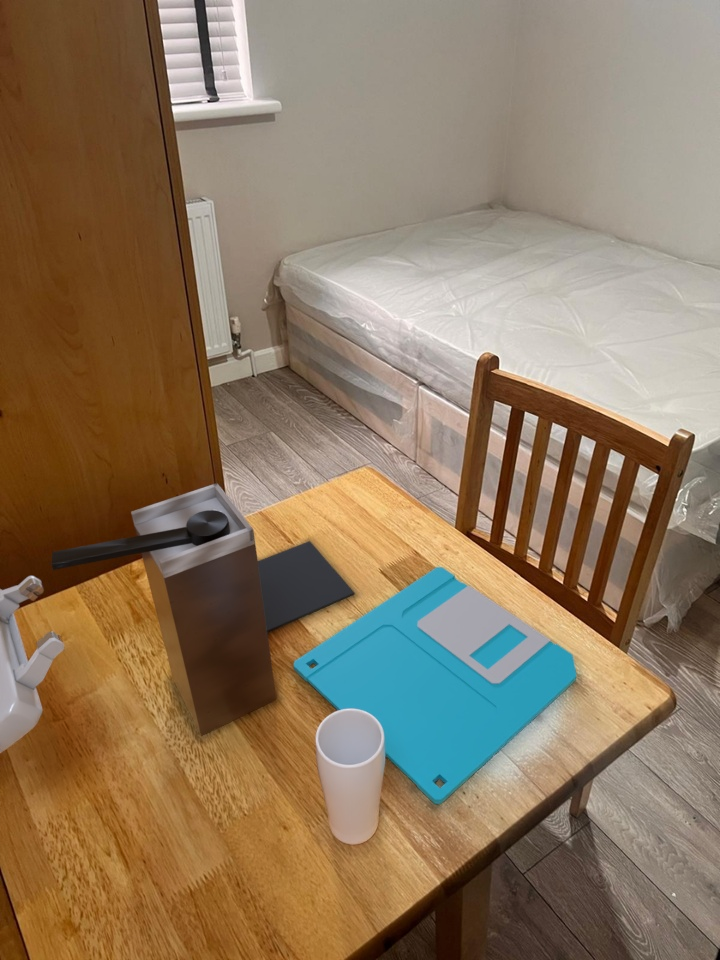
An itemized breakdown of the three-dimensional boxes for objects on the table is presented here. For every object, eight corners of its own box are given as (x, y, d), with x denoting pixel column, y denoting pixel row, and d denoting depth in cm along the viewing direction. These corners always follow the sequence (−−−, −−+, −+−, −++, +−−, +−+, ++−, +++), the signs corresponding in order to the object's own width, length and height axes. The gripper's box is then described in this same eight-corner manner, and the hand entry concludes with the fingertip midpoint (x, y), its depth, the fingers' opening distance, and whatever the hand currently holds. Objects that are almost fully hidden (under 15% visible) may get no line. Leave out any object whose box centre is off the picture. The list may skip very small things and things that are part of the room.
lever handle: (52, 577, 73) (48, 565, 72) (54, 550, 76) (50, 538, 75) (232, 542, 77) (230, 530, 76) (227, 518, 80) (225, 506, 79)
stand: (201, 736, 88) (160, 563, 72) (173, 680, 95) (130, 511, 79) (276, 700, 92) (253, 529, 76) (244, 648, 99) (217, 482, 83)
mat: (199, 662, 97) (199, 660, 97) (165, 599, 107) (164, 597, 107) (354, 594, 107) (354, 592, 107) (309, 542, 117) (309, 540, 117)
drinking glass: (348, 867, 74) (344, 781, 66) (309, 819, 79) (300, 732, 70) (398, 826, 78) (400, 739, 69) (358, 782, 82) (355, 695, 74)
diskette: (291, 668, 96) (291, 663, 95) (439, 570, 111) (439, 565, 110) (437, 807, 79) (438, 802, 79) (587, 670, 94) (588, 665, 94)
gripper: (-76, 776, 63) (46, 664, 64) (-94, 629, 77) (5, 539, 78) (-17, 795, 67) (96, 690, 68) (-45, 652, 82) (49, 567, 83)
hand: (48, 608), depth 74 cm, fingers open, 8 cm apart
